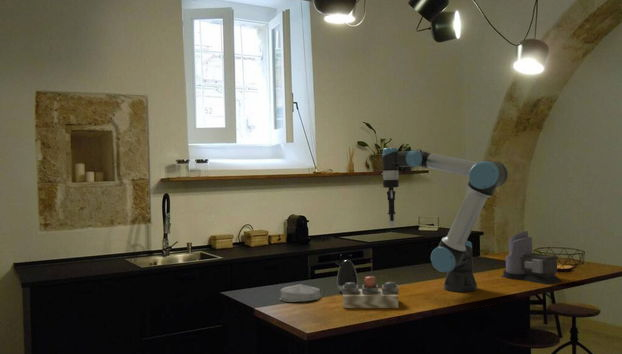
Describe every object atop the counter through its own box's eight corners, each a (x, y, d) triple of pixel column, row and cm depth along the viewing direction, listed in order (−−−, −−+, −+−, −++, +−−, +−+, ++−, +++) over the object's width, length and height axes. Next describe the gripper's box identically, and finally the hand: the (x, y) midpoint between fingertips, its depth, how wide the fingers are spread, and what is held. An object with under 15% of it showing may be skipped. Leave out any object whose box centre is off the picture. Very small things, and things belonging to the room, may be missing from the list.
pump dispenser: (335, 289, 266) (334, 258, 266) (356, 288, 267) (355, 257, 267) (338, 294, 256) (337, 261, 256) (360, 293, 257) (359, 260, 257)
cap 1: (355, 291, 238) (355, 282, 238) (355, 293, 233) (355, 284, 233) (345, 291, 238) (345, 282, 238) (345, 293, 234) (344, 284, 234)
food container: (280, 294, 261) (280, 280, 261) (322, 293, 260) (321, 278, 260) (276, 305, 241) (276, 289, 241) (322, 303, 240) (321, 287, 240)
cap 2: (395, 291, 236) (394, 281, 236) (395, 293, 232) (395, 283, 232) (384, 291, 236) (384, 281, 236) (385, 293, 232) (384, 283, 232)
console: (397, 300, 241) (397, 283, 241) (399, 307, 227) (398, 289, 227) (343, 300, 243) (343, 283, 243) (342, 307, 229) (341, 290, 229)
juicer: (494, 276, 289) (493, 230, 289) (514, 273, 298) (513, 228, 298) (544, 285, 264) (543, 234, 264) (565, 281, 272) (563, 232, 272)
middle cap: (375, 285, 237) (375, 276, 237) (375, 287, 233) (375, 278, 233) (365, 285, 237) (364, 276, 237) (364, 287, 233) (364, 278, 233)
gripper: (382, 179, 275) (383, 226, 275) (383, 179, 262) (384, 228, 262) (397, 179, 274) (399, 226, 274) (399, 179, 261) (400, 228, 261)
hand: (392, 227), depth 268 cm, fingers closed
